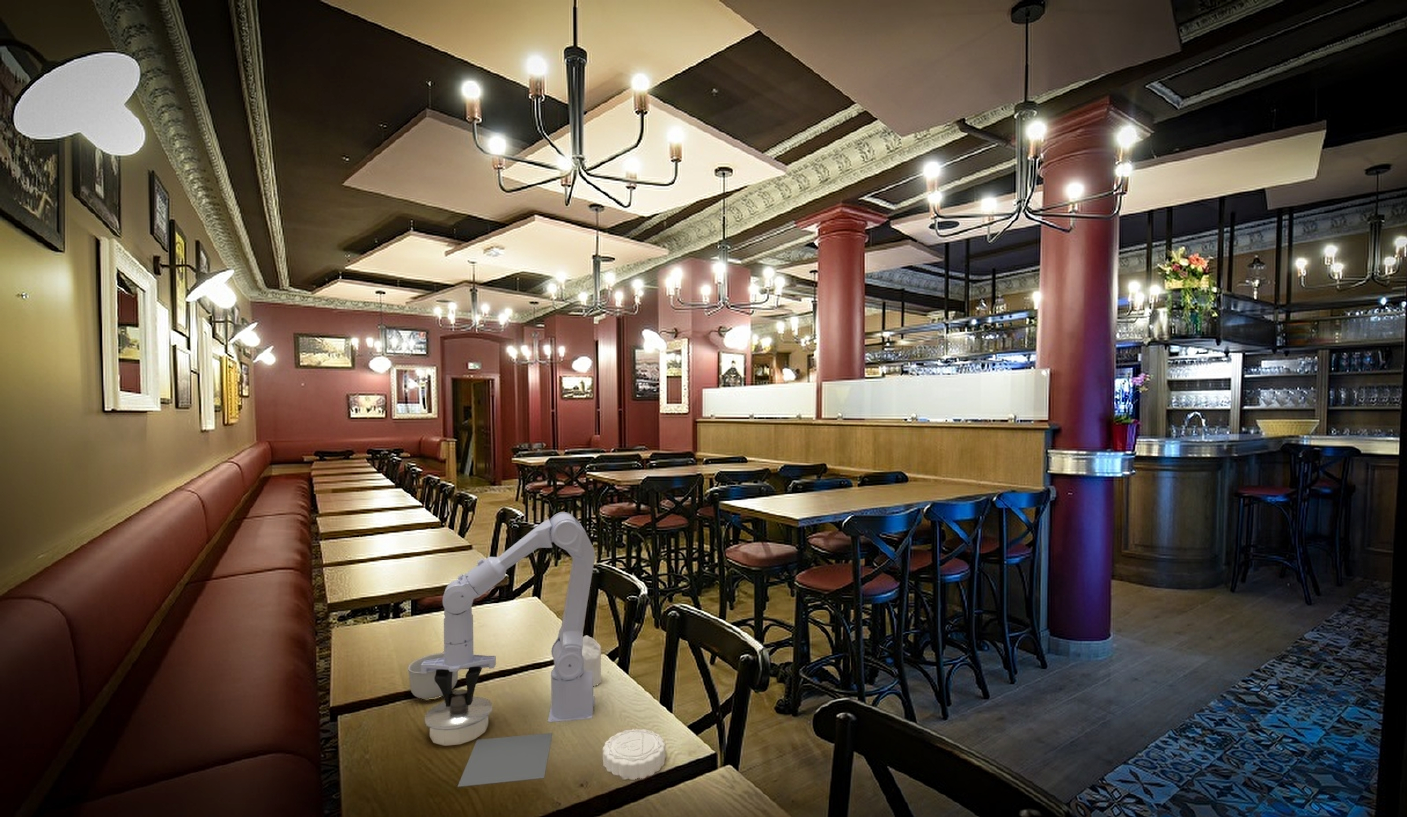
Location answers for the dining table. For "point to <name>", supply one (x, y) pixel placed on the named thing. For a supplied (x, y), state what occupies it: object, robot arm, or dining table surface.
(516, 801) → the dining table surface
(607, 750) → the mooncake
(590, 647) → the roll
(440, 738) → the cream dish
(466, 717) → the steel lid
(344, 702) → the dining table surface
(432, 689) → the teacup
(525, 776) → the slate mat
